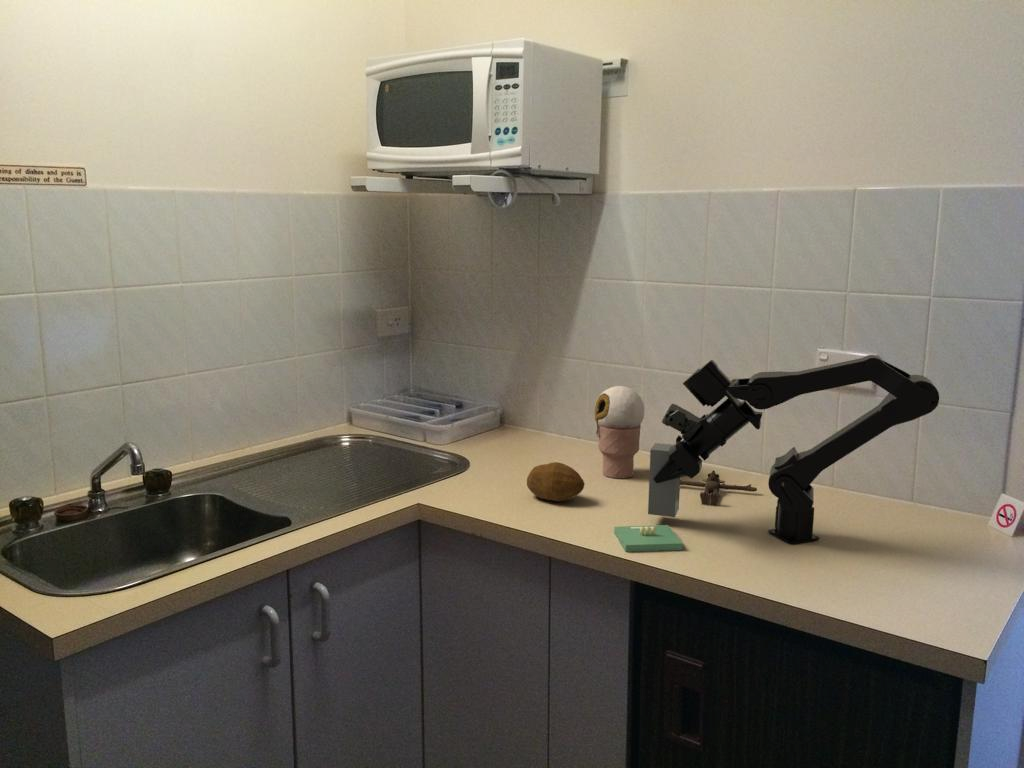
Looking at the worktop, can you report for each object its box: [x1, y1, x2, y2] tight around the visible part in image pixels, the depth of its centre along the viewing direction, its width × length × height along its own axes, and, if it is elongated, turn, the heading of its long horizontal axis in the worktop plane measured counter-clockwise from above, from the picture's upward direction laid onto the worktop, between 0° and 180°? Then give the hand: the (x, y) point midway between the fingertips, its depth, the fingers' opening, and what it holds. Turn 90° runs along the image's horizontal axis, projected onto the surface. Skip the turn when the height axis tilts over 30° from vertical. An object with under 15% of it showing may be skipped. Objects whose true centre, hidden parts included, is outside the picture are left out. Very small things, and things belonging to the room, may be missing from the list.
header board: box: [613, 524, 683, 553], centre depth 154 cm, size 10×9×3 cm
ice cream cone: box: [594, 385, 646, 480], centre depth 192 cm, size 11×11×20 cm
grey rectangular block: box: [647, 442, 681, 518], centre depth 163 cm, size 5×5×12 cm
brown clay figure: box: [680, 470, 758, 507], centre depth 180 cm, size 18×4×14 cm
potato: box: [526, 461, 585, 502], centre depth 176 cm, size 8×12×8 cm, turn 70°
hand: (657, 477), depth 163 cm, fingers closed on grey rectangular block, 5 cm apart
